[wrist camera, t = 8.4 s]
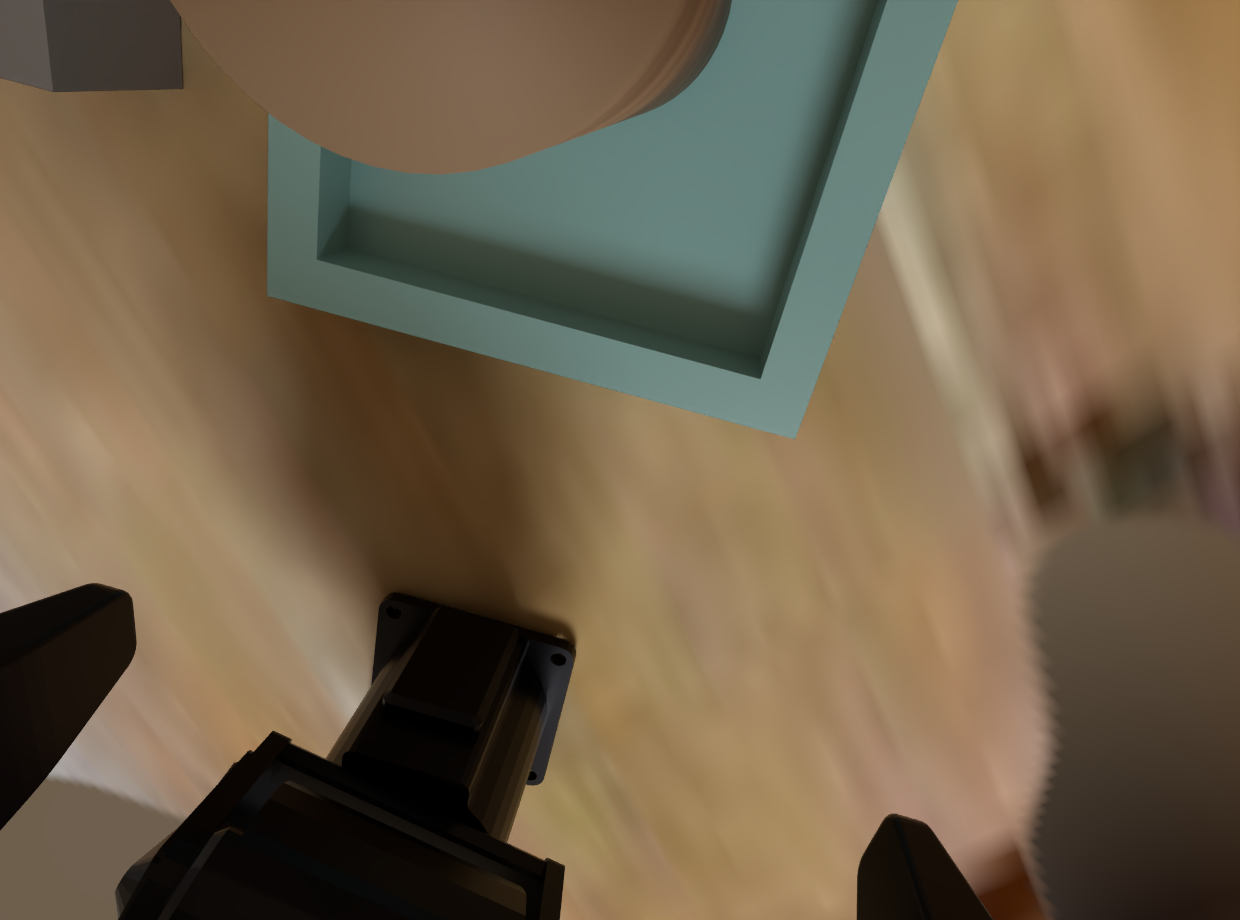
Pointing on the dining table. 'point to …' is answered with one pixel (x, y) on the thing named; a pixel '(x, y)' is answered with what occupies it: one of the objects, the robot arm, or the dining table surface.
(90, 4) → the holder
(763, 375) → the tray
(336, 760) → the robot arm
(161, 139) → the dining table surface
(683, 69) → the pepper mill
